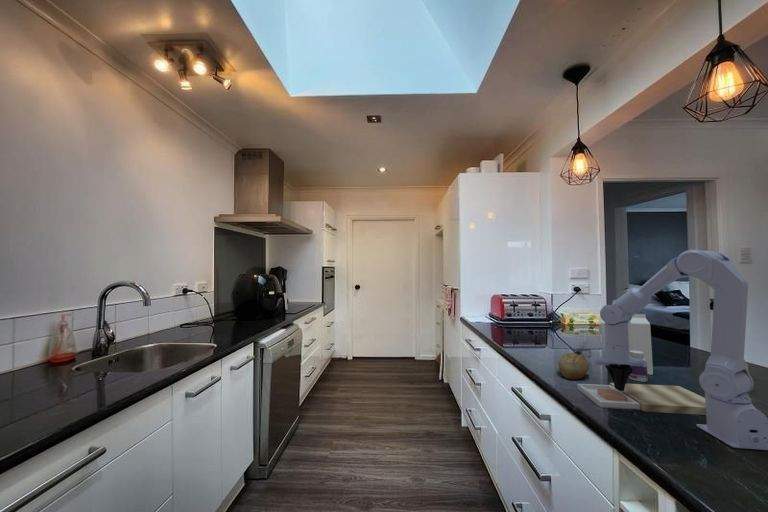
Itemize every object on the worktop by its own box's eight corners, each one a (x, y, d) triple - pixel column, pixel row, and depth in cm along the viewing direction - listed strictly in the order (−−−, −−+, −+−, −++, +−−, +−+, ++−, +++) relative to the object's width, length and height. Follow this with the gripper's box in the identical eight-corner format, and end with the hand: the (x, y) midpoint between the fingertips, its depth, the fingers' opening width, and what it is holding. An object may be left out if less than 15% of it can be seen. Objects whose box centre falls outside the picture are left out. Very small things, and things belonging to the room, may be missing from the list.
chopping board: (679, 392, 95) (678, 385, 95) (728, 416, 79) (727, 408, 79) (609, 389, 98) (609, 382, 98) (644, 411, 82) (643, 404, 82)
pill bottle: (651, 382, 103) (650, 354, 104) (634, 381, 104) (632, 353, 105) (641, 377, 109) (640, 350, 109) (624, 376, 110) (623, 349, 110)
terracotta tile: (615, 394, 93) (615, 389, 93) (625, 401, 88) (625, 395, 88) (597, 393, 94) (597, 388, 94) (606, 400, 89) (606, 394, 89)
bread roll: (591, 372, 115) (590, 351, 115) (588, 384, 103) (587, 360, 103) (562, 367, 121) (561, 347, 121) (556, 378, 109) (555, 356, 109)
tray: (610, 390, 97) (610, 385, 97) (640, 409, 83) (640, 404, 83) (577, 388, 99) (577, 383, 99) (601, 407, 85) (600, 401, 85)
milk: (626, 368, 118) (622, 312, 120) (644, 370, 116) (641, 313, 118) (634, 373, 112) (630, 314, 114) (653, 375, 111) (649, 315, 112)
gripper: (634, 341, 94) (637, 385, 93) (584, 340, 96) (586, 383, 96) (651, 347, 87) (653, 394, 86) (596, 346, 89) (598, 392, 89)
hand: (619, 389), depth 91 cm, fingers closed
